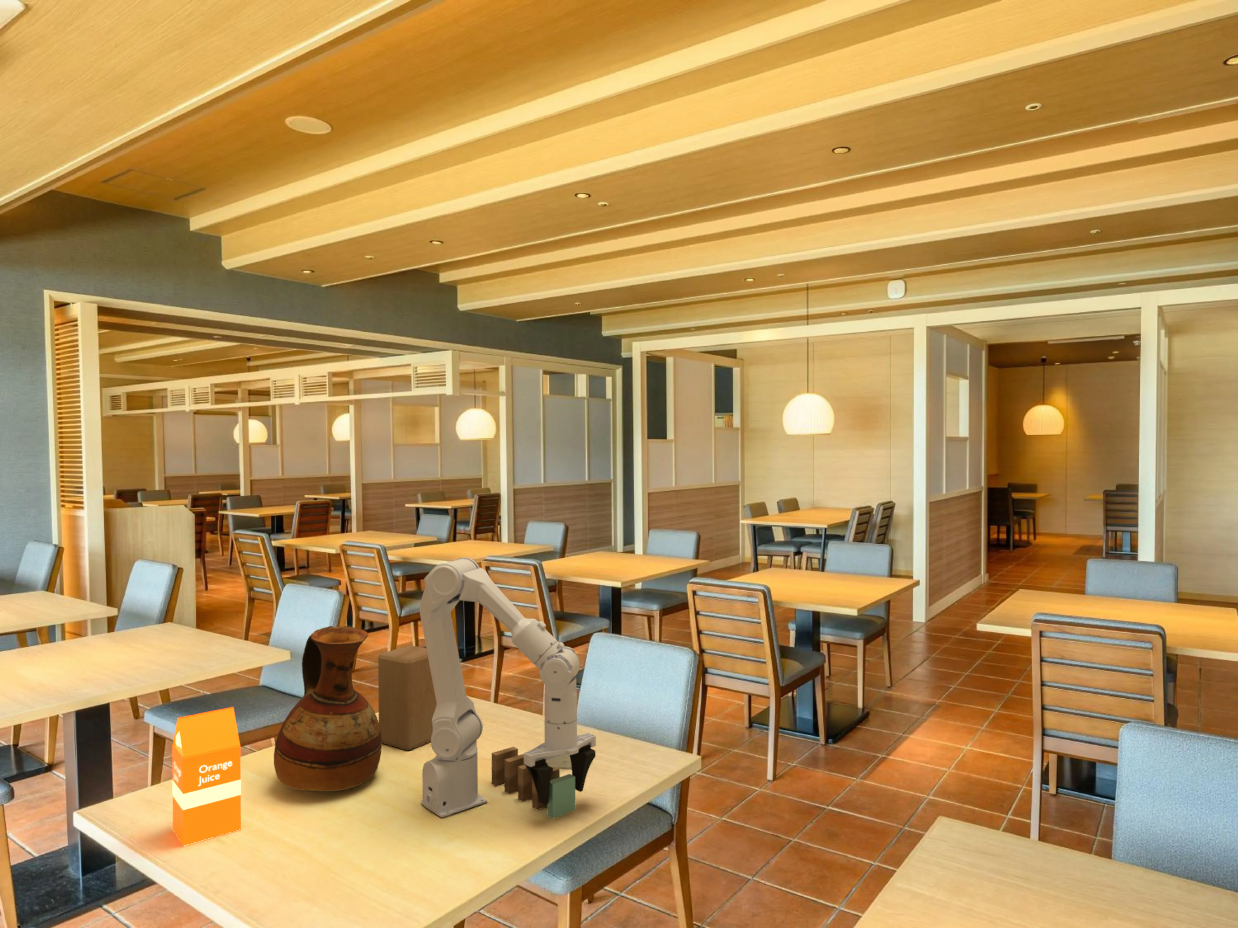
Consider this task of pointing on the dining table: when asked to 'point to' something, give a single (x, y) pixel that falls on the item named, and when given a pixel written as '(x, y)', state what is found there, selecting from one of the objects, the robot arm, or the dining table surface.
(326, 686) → the ceramic pitcher
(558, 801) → the green domino
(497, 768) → the domino
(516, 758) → the domino
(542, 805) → the domino
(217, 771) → the orange juice
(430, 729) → the wooden block
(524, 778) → the domino
